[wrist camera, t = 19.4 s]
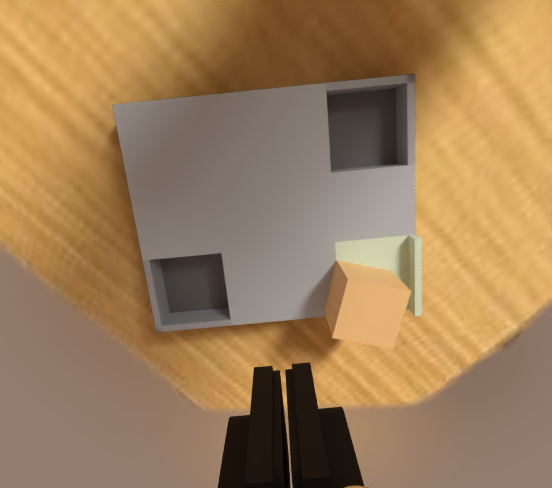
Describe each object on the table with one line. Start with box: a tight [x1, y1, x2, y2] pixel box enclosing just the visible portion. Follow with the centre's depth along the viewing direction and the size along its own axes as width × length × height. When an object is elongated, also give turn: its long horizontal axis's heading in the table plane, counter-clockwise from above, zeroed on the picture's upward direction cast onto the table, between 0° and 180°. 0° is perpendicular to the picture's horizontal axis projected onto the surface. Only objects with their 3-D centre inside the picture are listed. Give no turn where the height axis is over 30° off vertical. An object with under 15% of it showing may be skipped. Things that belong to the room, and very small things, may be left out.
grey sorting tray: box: [112, 74, 422, 332], centre depth 33 cm, size 24×20×4 cm
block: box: [324, 260, 411, 349], centre depth 31 cm, size 5×5×5 cm
